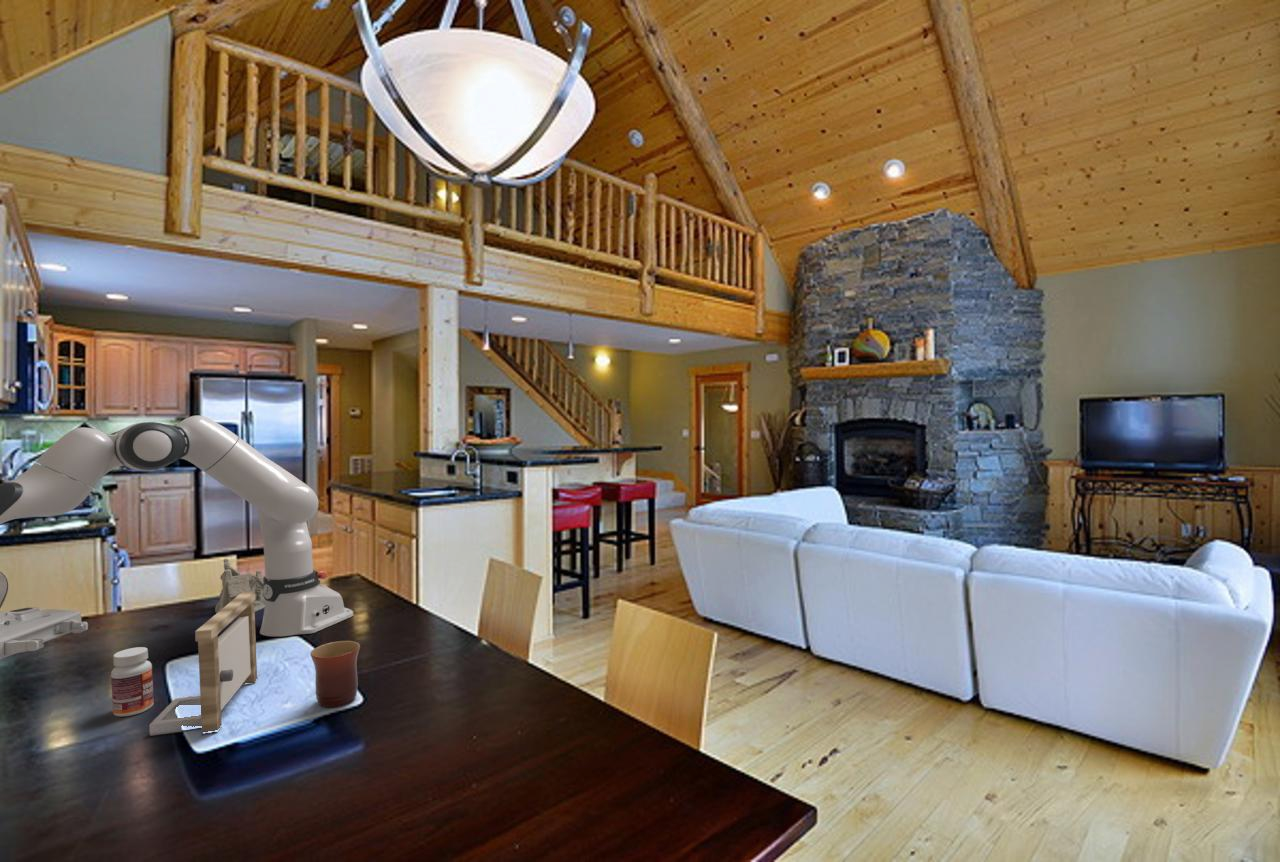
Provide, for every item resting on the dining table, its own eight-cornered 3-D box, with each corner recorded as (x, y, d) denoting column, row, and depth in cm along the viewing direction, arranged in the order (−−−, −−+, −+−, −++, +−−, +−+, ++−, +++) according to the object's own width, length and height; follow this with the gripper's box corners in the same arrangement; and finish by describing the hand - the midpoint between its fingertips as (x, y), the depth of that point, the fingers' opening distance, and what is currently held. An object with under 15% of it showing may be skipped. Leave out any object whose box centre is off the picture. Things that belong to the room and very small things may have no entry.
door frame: (245, 679, 134) (242, 591, 134) (258, 677, 135) (255, 590, 134) (199, 737, 110) (195, 631, 110) (215, 735, 111) (210, 629, 110)
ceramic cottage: (213, 619, 174) (215, 564, 174) (215, 606, 187) (217, 555, 188) (278, 612, 182) (280, 560, 182) (276, 600, 196) (277, 552, 196)
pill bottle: (152, 711, 120) (149, 653, 120) (110, 721, 117) (107, 660, 117) (155, 699, 126) (152, 643, 125) (115, 708, 122) (112, 650, 122)
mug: (352, 709, 120) (350, 656, 119) (304, 712, 119) (302, 658, 119) (373, 682, 132) (371, 633, 131) (330, 684, 131) (328, 635, 131)
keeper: (175, 709, 121) (174, 698, 121) (228, 702, 124) (227, 692, 124) (149, 735, 111) (149, 724, 111) (208, 728, 114) (207, 717, 114)
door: (242, 674, 131) (239, 617, 131) (259, 672, 132) (257, 615, 131) (208, 714, 114) (206, 648, 113) (229, 711, 115) (226, 646, 114)
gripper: (-72, 639, 110) (9, 638, 110) (38, 604, 130) (106, 603, 130) (-71, 675, 110) (10, 674, 110) (39, 634, 130) (107, 633, 130)
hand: (63, 635), depth 120 cm, fingers open, 8 cm apart
